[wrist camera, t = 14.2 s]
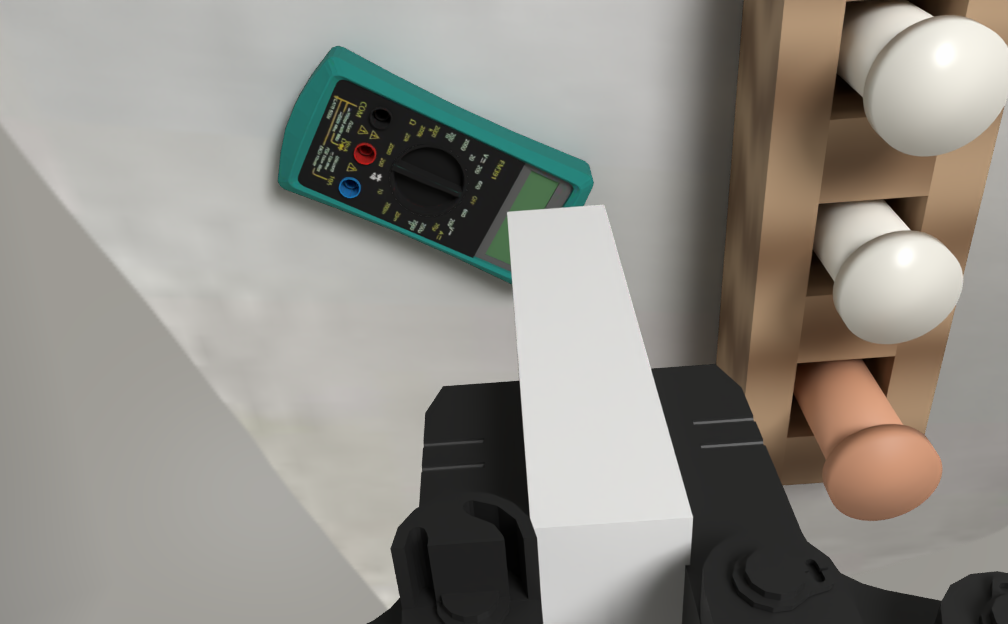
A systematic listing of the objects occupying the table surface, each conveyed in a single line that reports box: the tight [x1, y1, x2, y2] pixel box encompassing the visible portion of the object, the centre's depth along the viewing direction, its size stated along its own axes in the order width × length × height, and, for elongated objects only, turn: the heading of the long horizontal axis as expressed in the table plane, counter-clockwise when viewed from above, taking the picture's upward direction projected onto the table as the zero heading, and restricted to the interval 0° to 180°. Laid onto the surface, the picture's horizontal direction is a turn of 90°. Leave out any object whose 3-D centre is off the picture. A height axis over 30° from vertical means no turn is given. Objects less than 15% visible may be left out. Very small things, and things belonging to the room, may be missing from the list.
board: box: [716, 0, 1008, 485], centre depth 45 cm, size 30×10×6 cm, turn 4°
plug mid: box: [813, 199, 963, 344], centre depth 43 cm, size 5×5×9 cm
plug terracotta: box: [793, 358, 942, 521], centre depth 46 cm, size 5×5×9 cm
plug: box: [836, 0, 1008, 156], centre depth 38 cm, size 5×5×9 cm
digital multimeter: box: [278, 46, 594, 284], centre depth 45 cm, size 7×15×3 cm, turn 63°
